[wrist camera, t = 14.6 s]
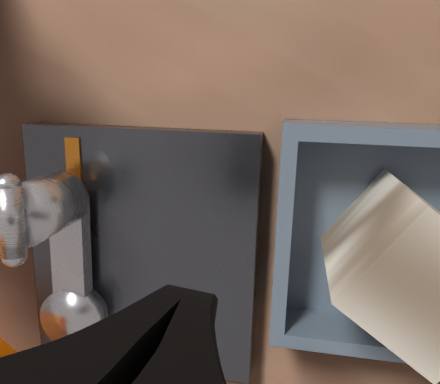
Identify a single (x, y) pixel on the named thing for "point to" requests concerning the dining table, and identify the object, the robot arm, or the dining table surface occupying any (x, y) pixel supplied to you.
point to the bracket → (5, 349)
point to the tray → (326, 216)
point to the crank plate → (163, 217)
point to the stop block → (389, 270)
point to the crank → (53, 245)
